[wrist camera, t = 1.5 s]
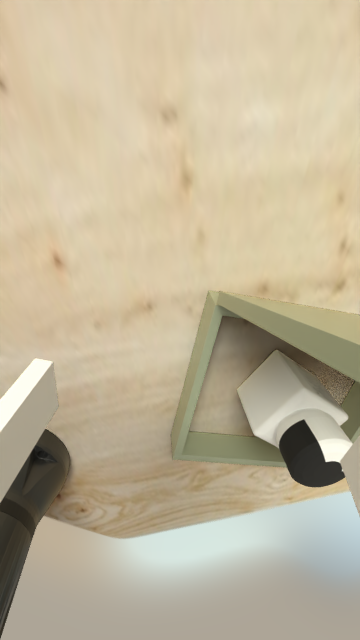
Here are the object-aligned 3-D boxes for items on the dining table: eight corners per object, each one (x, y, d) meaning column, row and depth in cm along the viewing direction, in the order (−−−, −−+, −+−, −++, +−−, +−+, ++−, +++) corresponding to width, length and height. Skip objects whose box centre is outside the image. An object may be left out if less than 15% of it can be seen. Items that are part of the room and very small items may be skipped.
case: (330, 448, 45) (404, 562, 32) (170, 434, 41) (179, 559, 28) (419, 298, 35) (585, 376, 21) (216, 261, 31) (264, 326, 17)
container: (275, 412, 41) (323, 506, 29) (234, 389, 39) (269, 481, 27) (316, 375, 39) (386, 461, 27) (275, 347, 36) (333, 428, 25)
